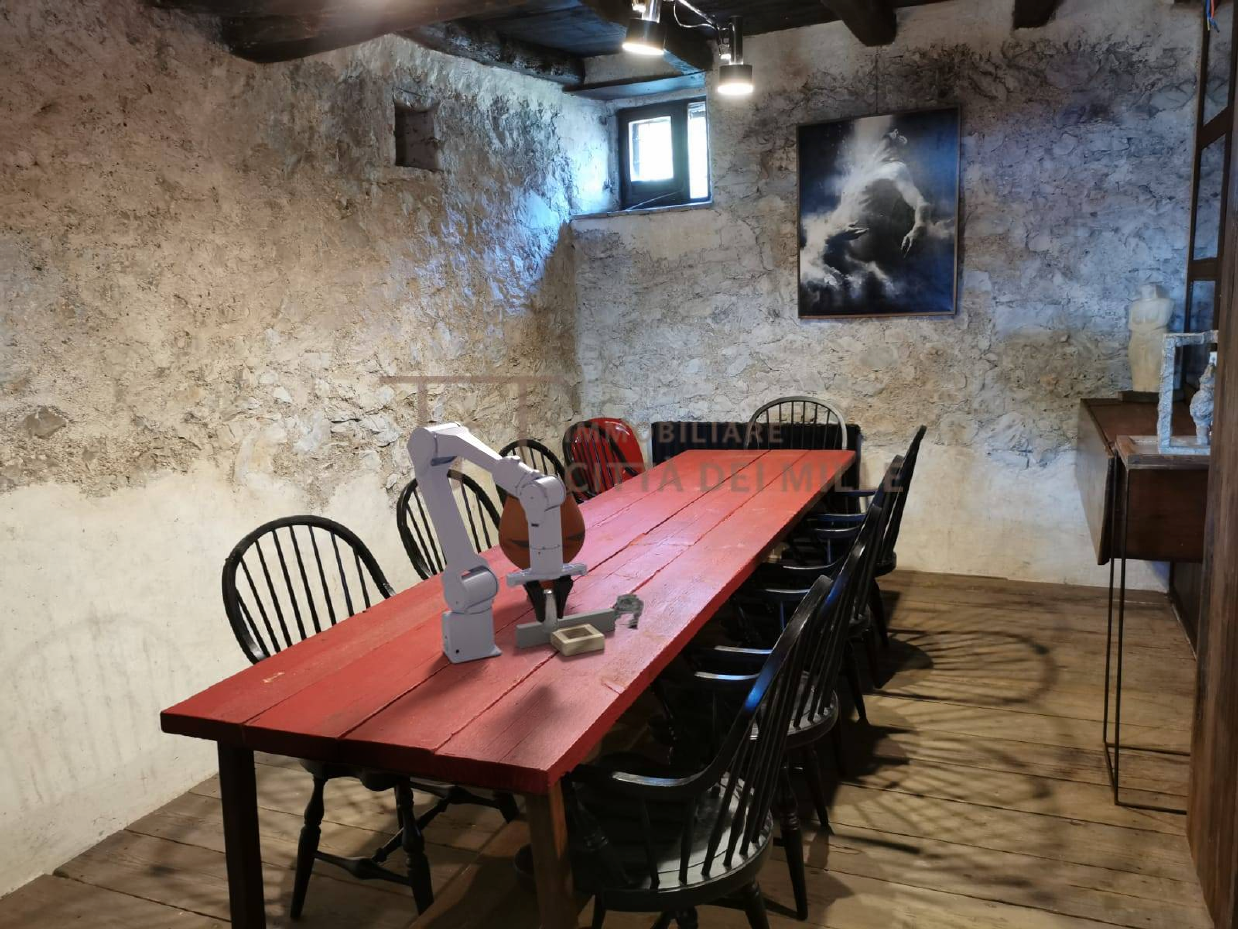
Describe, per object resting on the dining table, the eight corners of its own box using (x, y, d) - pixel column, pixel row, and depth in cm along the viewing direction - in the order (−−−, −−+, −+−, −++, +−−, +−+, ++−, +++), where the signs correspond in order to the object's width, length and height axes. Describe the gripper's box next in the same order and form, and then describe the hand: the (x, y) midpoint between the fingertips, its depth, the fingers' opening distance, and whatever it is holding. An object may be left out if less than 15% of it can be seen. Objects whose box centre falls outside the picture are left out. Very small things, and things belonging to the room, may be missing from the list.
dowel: (545, 633, 162) (543, 595, 160) (539, 628, 164) (537, 591, 163) (561, 630, 163) (559, 593, 162) (555, 625, 165) (553, 588, 164)
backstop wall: (520, 648, 175) (519, 628, 175) (517, 645, 177) (515, 625, 176) (615, 629, 184) (614, 610, 183) (611, 626, 185) (610, 607, 185)
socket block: (565, 656, 170) (564, 643, 170) (550, 642, 177) (549, 630, 177) (604, 648, 174) (604, 635, 173) (588, 635, 181) (587, 623, 180)
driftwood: (618, 597, 205) (617, 588, 205) (648, 597, 204) (648, 588, 204) (604, 631, 185) (603, 621, 185) (637, 632, 184) (637, 622, 184)
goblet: (486, 607, 200) (479, 496, 196) (527, 582, 218) (521, 479, 213) (566, 615, 193) (560, 499, 189) (601, 588, 211) (596, 481, 206)
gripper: (513, 556, 154) (517, 633, 157) (592, 544, 160) (595, 618, 162) (500, 547, 161) (505, 621, 163) (577, 535, 166) (581, 607, 169)
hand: (549, 619), depth 163 cm, fingers closed on dowel, 3 cm apart
